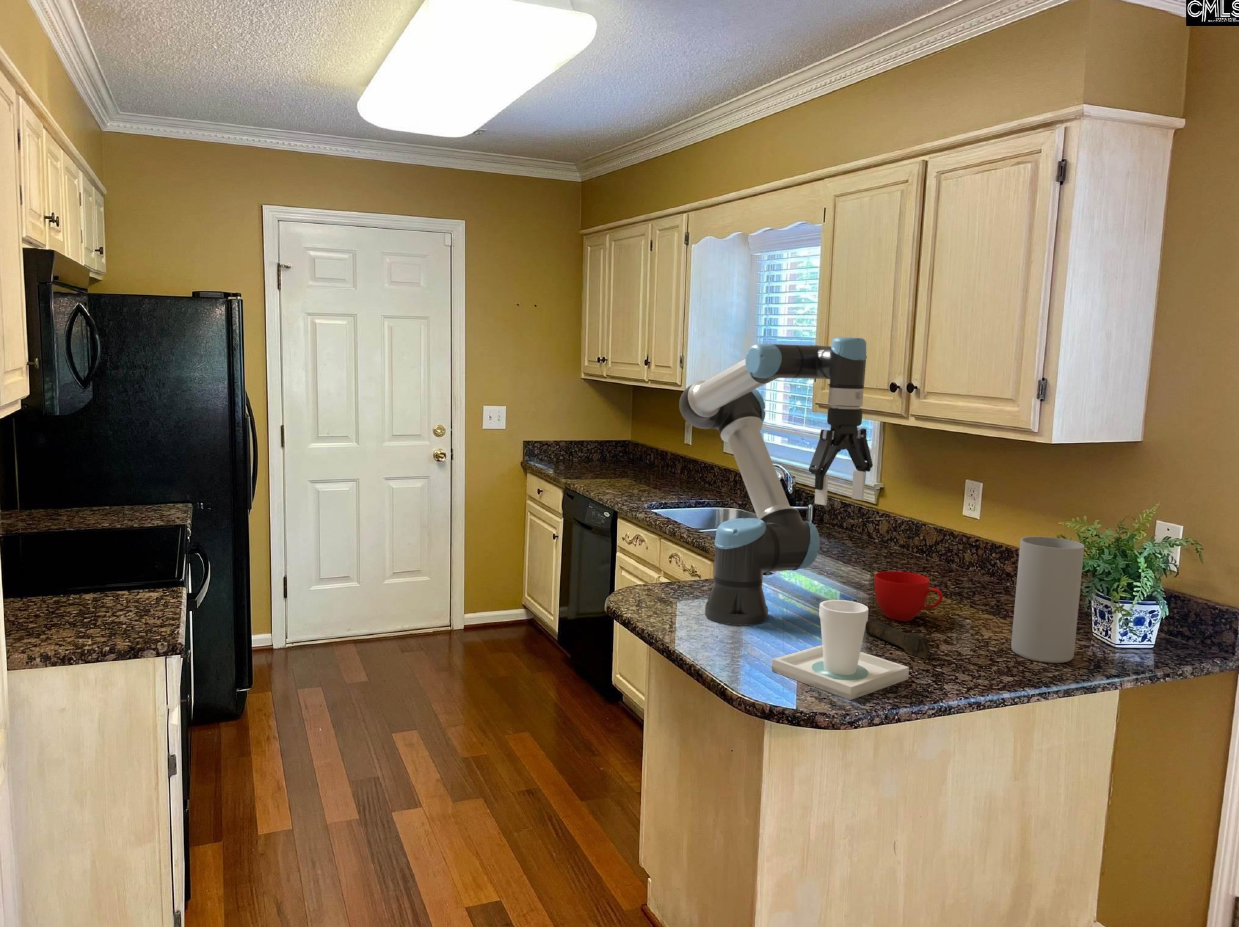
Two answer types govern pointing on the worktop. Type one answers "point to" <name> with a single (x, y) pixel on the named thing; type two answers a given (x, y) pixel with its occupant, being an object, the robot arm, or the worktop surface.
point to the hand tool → (899, 638)
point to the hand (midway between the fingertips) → (839, 501)
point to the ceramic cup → (903, 594)
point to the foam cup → (842, 634)
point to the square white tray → (864, 681)
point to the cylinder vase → (1047, 599)
